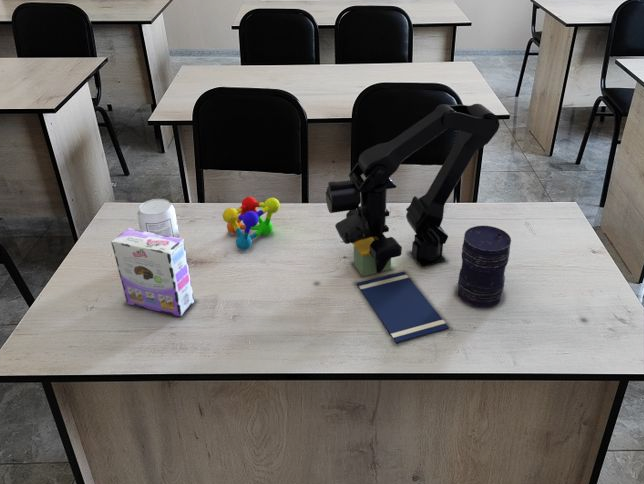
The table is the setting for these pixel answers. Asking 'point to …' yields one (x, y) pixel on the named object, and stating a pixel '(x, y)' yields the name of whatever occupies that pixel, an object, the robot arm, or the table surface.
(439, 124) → the robot arm
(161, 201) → the supplement can
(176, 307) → the candy box
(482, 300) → the storage jar
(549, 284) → the table surface
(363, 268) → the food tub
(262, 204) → the molecular model
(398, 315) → the tea towel
